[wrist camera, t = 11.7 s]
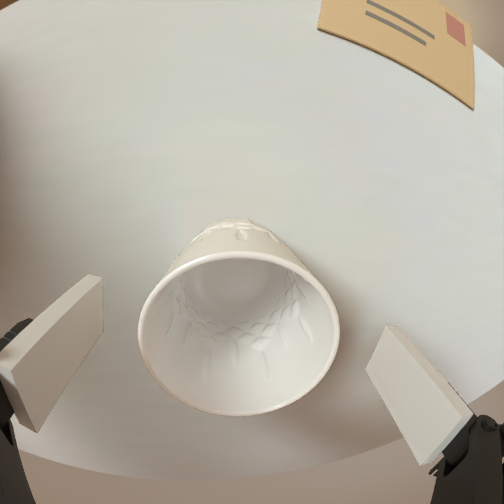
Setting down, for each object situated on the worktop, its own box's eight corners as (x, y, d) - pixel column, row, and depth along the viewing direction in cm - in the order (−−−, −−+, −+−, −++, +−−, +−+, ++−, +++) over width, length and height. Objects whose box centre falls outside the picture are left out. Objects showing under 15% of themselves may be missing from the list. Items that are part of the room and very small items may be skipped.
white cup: (271, 323, 21) (297, 423, 12) (170, 300, 20) (133, 395, 11) (305, 226, 19) (371, 281, 10) (192, 195, 18) (152, 225, 9)
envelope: (317, 28, 15) (318, 26, 15) (331, -49, 12) (332, -51, 12) (471, 109, 17) (474, 108, 17) (468, 26, 14) (470, 25, 14)
